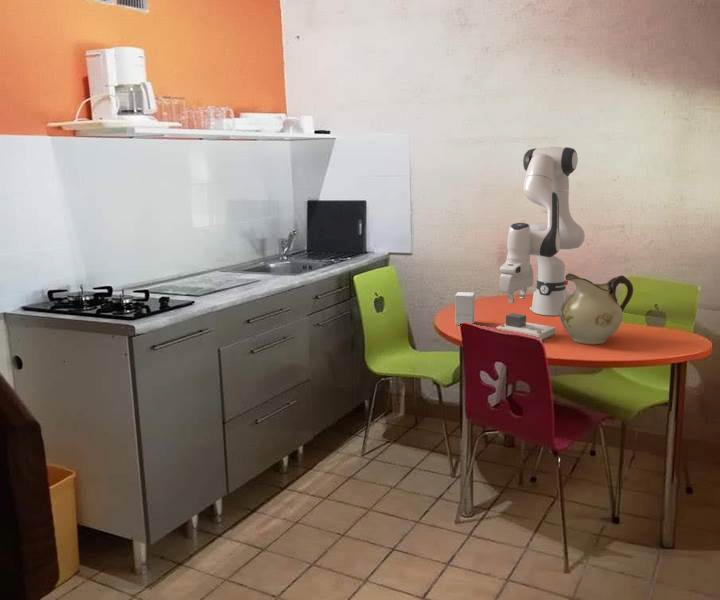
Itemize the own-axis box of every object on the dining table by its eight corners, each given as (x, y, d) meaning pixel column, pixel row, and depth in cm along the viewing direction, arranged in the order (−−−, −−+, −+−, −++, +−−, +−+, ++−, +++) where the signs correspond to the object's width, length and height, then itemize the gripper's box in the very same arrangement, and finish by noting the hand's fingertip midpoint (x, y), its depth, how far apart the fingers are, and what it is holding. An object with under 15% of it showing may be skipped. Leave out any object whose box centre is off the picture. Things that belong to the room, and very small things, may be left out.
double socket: (513, 327, 286) (514, 319, 285) (555, 334, 274) (555, 326, 274) (496, 334, 276) (496, 325, 275) (538, 342, 264) (538, 333, 263)
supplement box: (474, 321, 296) (475, 292, 293) (472, 326, 289) (473, 295, 286) (456, 320, 297) (457, 291, 295) (454, 325, 290) (455, 295, 288)
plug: (511, 327, 281) (512, 313, 280) (525, 330, 278) (526, 315, 276) (505, 330, 278) (506, 315, 276) (519, 332, 274) (519, 317, 273)
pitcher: (547, 340, 266) (551, 275, 261) (575, 328, 283) (580, 267, 278) (604, 352, 251) (610, 283, 246) (631, 339, 268) (637, 274, 263)
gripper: (523, 261, 282) (522, 295, 285) (497, 268, 267) (496, 304, 270) (538, 263, 278) (536, 297, 281) (512, 270, 263) (510, 306, 266)
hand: (516, 300), depth 275 cm, fingers open, 7 cm apart
